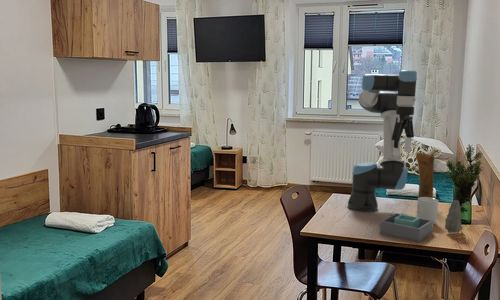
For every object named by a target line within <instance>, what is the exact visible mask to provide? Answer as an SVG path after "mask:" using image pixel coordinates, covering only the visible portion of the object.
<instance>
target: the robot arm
mask: <svg viewBox="0 0 500 300" xmlns="http://www.w3.org/2000/svg"><path fill="white" fill-rule="evenodd" d="M417 77H418V73H417V71H416V70H408V69H407V70H403V69H402V70H399V71H398V74H382V73H381V74H377V73H375V74H374V73H365V74H363V75H362V79H361V89H362V91H361V92H360V93H359V95H358V104H359V105H360V107H361V108H362V109H364V111H367V112H369V113H374V114H380V118H382V120H383V160H382V161H381V162H380V165H378V164H377V162H371V161H369V162H360V163H356V164H355V165H353V168H352V170H353V171H352V183H351V184H352V186H351V189H352V190H351V194H350V196H349V199H348V201H347V207H348V208H349V209H351V210H354V211H360V212H374V211H377V210H378V209H379V208H378V207H379V205H378V200H377V196H376V189H377V190H378V189H379V190H393V191H396V190H397V191H401V190H404V188H405V186H406V184H407V179H408V174H409V172H408V167H406V166H405V163H404V161H403V160H402V157H401V156H402V151H401V148H402V146H401V145H402V143H401V137H402V134H403V131H404V133H405V138H404V147H403V148H404V149H403V151H404V153H405V152H406V153H411V150H412V138H413V139H414V137H415V132H414V123H413V119H414V118H413V116H414V114H415V102H416V101H417V98H416V89H417V87H416V86H417V80H418V78H417Z"/></svg>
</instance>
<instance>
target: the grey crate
mask: <svg viewBox="0 0 500 300" xmlns="http://www.w3.org/2000/svg"><path fill="white" fill-rule="evenodd" d="M399 215H401V214H399V213H394V214H392V215H390V216H387V217H385V218H384V219H382V220H380V224H379V234H381V235H385V236H389V237H393V238H398V239H401V240H402V239H403V240H406V241H410V242H411V241H412V242H416V243H420V242H421V241H423V240H424V239H425V238H427V237H428V236H430V235H432V233H433V229H434V228H433V226H434V224H433V221H432V220H427V219H422V218H420V222H419V228H415V227H410V226H405V225H400V224H395V223H394V218H395V217H397V216H399Z"/></svg>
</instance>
